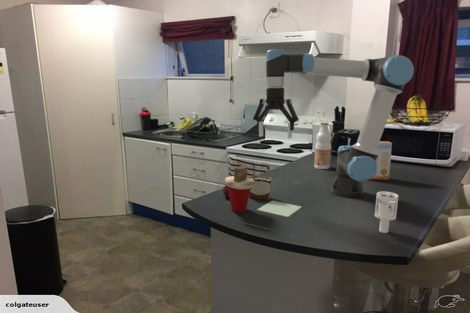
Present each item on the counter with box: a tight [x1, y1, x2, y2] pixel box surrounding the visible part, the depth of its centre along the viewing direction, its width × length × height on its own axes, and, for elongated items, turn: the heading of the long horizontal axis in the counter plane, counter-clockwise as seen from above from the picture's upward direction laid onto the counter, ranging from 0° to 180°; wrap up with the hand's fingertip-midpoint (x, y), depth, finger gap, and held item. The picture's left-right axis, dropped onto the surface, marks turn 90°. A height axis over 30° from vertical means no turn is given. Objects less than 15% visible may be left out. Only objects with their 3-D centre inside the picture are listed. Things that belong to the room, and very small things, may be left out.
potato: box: [222, 184, 230, 199], centre depth 166 cm, size 7×10×6 cm
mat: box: [256, 200, 302, 218], centre depth 152 cm, size 14×14×1 cm
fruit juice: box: [313, 122, 332, 170], centre depth 223 cm, size 9×9×28 cm
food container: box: [247, 174, 274, 201], centre depth 166 cm, size 12×6×10 cm, turn 71°
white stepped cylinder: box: [374, 191, 399, 234], centre depth 129 cm, size 7×7×15 cm
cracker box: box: [370, 140, 393, 181], centre depth 200 cm, size 14×6×21 cm, turn 84°
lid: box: [224, 165, 255, 188], centre depth 146 cm, size 12×12×7 cm
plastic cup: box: [226, 184, 252, 213], centre depth 148 cm, size 11×11×12 cm
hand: (275, 137), depth 158 cm, fingers open, 13 cm apart
